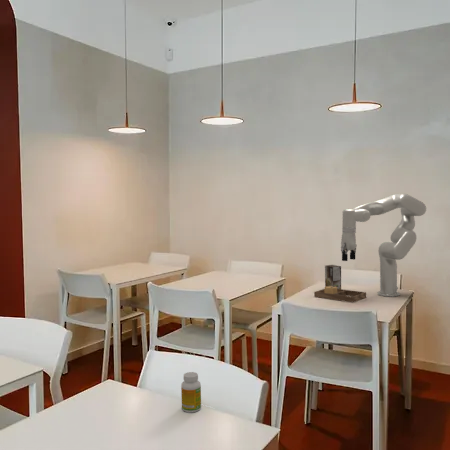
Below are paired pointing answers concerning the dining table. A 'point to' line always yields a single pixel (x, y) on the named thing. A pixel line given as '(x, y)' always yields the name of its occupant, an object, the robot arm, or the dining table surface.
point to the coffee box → (333, 276)
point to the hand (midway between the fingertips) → (348, 260)
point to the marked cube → (331, 289)
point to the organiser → (341, 295)
